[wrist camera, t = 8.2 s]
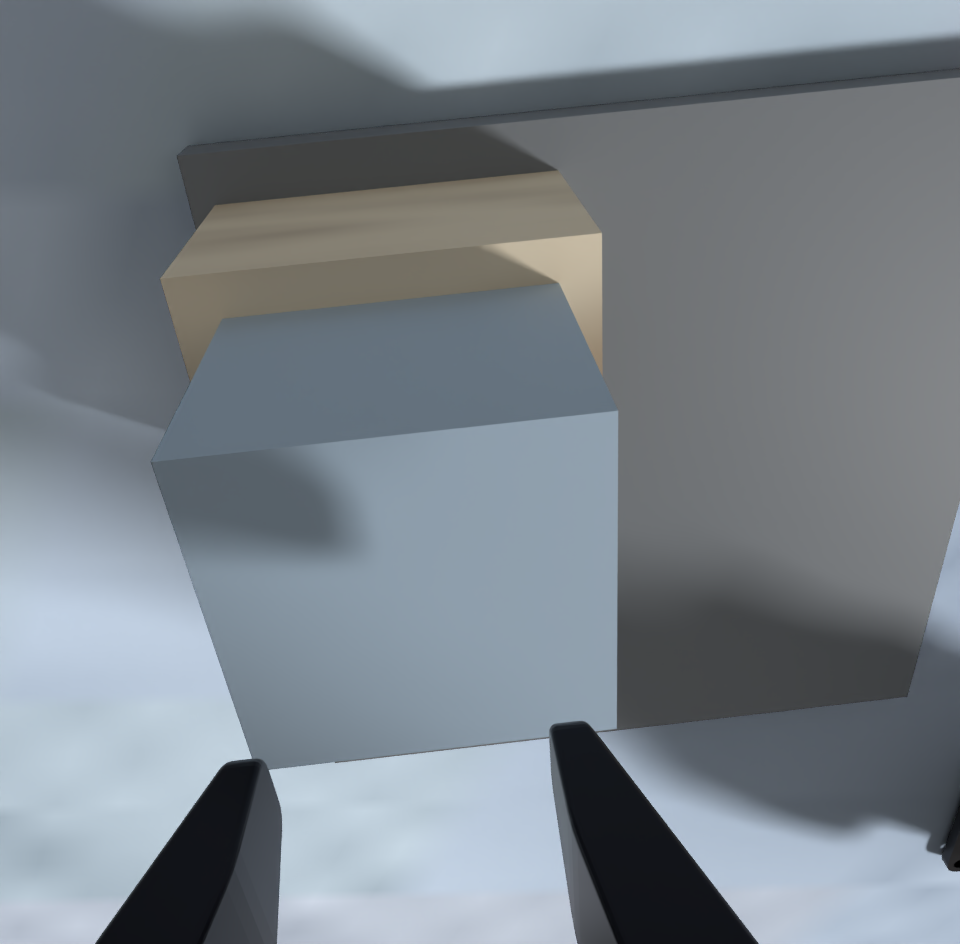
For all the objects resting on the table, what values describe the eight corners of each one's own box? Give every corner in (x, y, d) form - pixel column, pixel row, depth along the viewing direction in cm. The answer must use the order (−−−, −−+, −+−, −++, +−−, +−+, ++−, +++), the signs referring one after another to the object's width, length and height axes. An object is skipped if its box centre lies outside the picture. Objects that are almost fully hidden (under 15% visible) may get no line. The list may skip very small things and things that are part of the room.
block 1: (567, 461, 21) (603, 576, 17) (285, 492, 21) (258, 614, 17) (558, 170, 17) (601, 233, 13) (214, 205, 17) (160, 278, 13)
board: (891, 673, 27) (907, 696, 26) (337, 737, 27) (335, 762, 26) (1044, 60, 18) (1076, 65, 17) (188, 145, 17) (176, 155, 16)
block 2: (568, 550, 17) (616, 728, 13) (290, 581, 17) (256, 770, 13) (559, 282, 14) (618, 410, 10) (222, 318, 14) (150, 461, 10)
